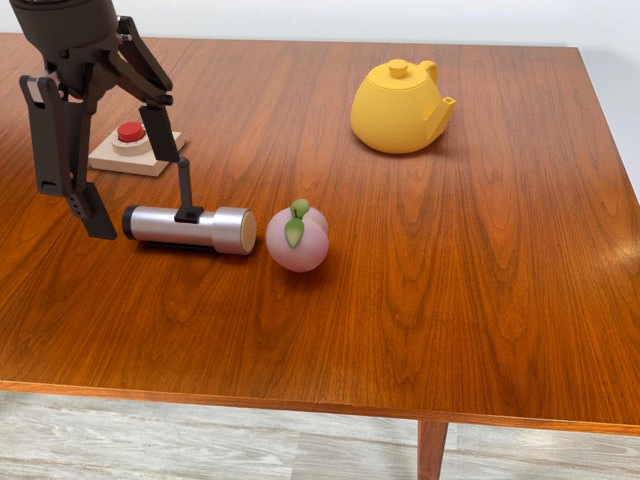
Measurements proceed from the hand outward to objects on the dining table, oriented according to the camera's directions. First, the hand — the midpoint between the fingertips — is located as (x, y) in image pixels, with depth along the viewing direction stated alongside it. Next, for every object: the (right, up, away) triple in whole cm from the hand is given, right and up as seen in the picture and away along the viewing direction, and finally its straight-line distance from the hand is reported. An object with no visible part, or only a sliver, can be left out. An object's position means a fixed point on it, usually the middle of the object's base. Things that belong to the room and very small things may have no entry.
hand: (138, 195), depth 62 cm
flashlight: (-1, -4, +21) cm, 22 cm away
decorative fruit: (+15, -7, +18) cm, 24 cm away
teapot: (+31, +17, +41) cm, 54 cm away
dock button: (-16, +15, +34) cm, 41 cm away
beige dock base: (-15, +13, +37) cm, 42 cm away
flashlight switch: (0, +1, +17) cm, 17 cm away
